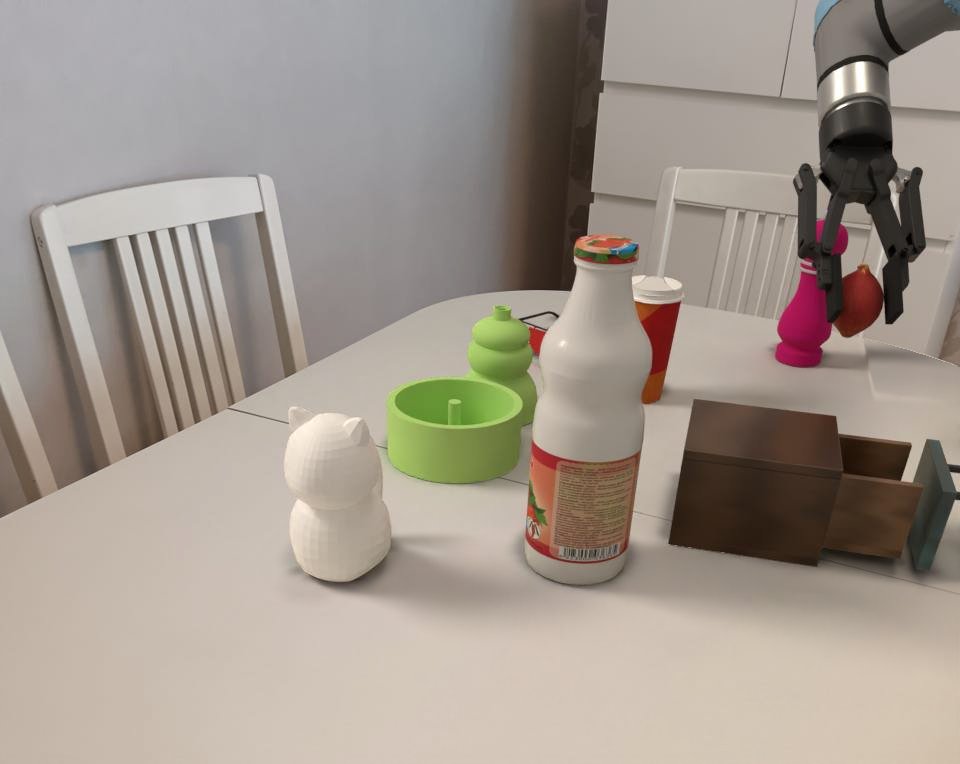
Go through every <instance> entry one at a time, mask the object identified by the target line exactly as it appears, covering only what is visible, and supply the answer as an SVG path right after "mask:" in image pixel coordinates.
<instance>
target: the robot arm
mask: <svg viewBox="0 0 960 764" xmlns="http://www.w3.org/2000/svg"><path fill="white" fill-rule="evenodd" d="M813 25H814V31H813V36H812V47H813V51H814V56H815V57H814V60H815V73H816V75H815V76H816V103H817V105H816V106H817V126H818V149H819V151H818V152H819V160H820V161H819V164H817V165H813V166H812V165H810V163H808V162H804V163H802V164H801V165H800V166H799V168H798V170H797V172H796V174H795V176H794V178H793V179H792V184H793V187H794V190H795V193H796V195H797V257H798V258H799V260H800V259H806V258H808V259H811V260H813V262H812V267H813V268H815V269H816V274H817V287H818V289H819V290H825V293H826V315H827V323H834V322H835V321H836V320H837V318H838V317H839V316H840V314H841V313H842V312H843V311H844V306H843V286H842V278H843V267H842V266H843V265H842V255H841V253H834V254H833V255H832V251H833V249H834V246H835V242H836V238H837V235H838V231H839V227H840V224H842V220H843V216H844V212H845V209H846V205H848V204H854V203H856V204H860V205H863V206H864V208H865V211H866V213H867V215H870V216H871V219H872V222H873V225H874V228H875V230H876V233H877V235H878V239H879V241H880V244H881V246H882V249H883V252H884V254H885V257H886V259H887V262H886V263H885V265H883V267H882V268H881V272H882V273H881V274H882V290H883V294H884V302H883V309H884V325H891V326H892V325H894V323H895V322H896V321H897V320H898V319H899V318H900V317H901V316H902V315H903V314H904V312H905V311H904V310H905V309H904V296H903V294H904V293H903V292H904V291H905V290H906V289H907V288H908V286H909V284H910V267H909V263H914V262H915V261H916V260H917V259H918V258H919V256H920V255H921V254H923V252H924V251H925V249H926V248H927V241H926V233H925V224H924V216H923V215H924V214H923V208H922V207H923V206H922V199H921V190H920V185H921V183H922V179H923V176H924V170H923V169H922V167H919V166H915V167H913V168H912V169H911V170H908V169H904V168H901V167H899V165H898V162H897V160H896V159H895V157H894V155H893V150H894V149H893V147H894V137H893V135H894V134H893V121H892V119H893V118H892V113H891V111H892V103H891V101H892V100H891V89H890V71H889V69H890V66H889V65H890V62H892V61H894V60H895V59H897V58H900V57H901V56H904V55H905V54H908V53H909V52H911V50H913V49H916V48H917V47H919V46H921V45H923V44H925V43H926V42H927V43H928V42H929V41H930V40H932V39H934V38H936V37H938V36H939V35H941V34H943V33H945V32H957V31H960V0H819V1H818V2H817V5H816V8H815V12H814V24H813ZM891 181H892V182H894V184H895V193H896V194H898V211H899V212H898V213H899V217H898V214H897V212H896V209H895V206H894V204H893V201H892V198H891V197H892V191H891V187H890V185H889V183H890V182H891ZM819 182H821V183H822V185H823V186H824V187H825V188H826V189H827V191H828V192H829V193H830V197H829V200H828V204H827V207H826V209H827V210H828V211H827V215H826V218H825V222H824V225H823V229H822V233H821V236H820V240H819V242H817V221H818V183H819Z"/></svg>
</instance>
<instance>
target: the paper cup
mask: <svg viewBox="0 0 960 764" xmlns="http://www.w3.org/2000/svg"><path fill="white" fill-rule="evenodd" d="M632 288H633V295H634V301H635V307H636V311H637V315H638V318H639V320H640V323H641V325H642V326H643V328H644V330H645V332H646V334H647V336H648V338H649V340H650V343H651V347H652V367H651V371H650V374H649V377H648V379H647V382H646V384H645V386H644V389H643V391H642V396H641V398H642V403H643V405H648V404H654V403H657V402H659V401H660V400H661V397H662V393H663V389H664V385H665V380H666V376H667V375H666V374H667V371H668V366H669V361H670V356H671V352H672V347H673V342H674V337H675V334H676V333H675V332H676V327H677V324H678V318H679V314H680V308H681V303H682V301H684V300H685V293H684V292H683V291H684V289H683V284H682V282H681V281H679V280H677V279H674V278H671V277H666V276H664V277H660V276H658V275H650V276H647V275H645V274H644V275H643V274H642V275H634V276H633V275H632Z"/></svg>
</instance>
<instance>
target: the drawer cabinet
mask: <svg viewBox="0 0 960 764" xmlns="http://www.w3.org/2000/svg"><path fill="white" fill-rule="evenodd" d="M689 416H690V417H689V422H688V427H687V432H686V437H685V442H684V447H683V453H682V459H681V465H680V470H679V471H680V472H679V477H678V482H677V489H676V495H675V501H674V507H673V512H672V519H671V524H670V530H669V537H668V542H667V545H668V544H670V545H669V546H674V545H677V546H676V547H681V546H684V547H683V548H688V547H691V548H690V549H695V548H696V549H695V550H701V549H703V551H708V550H709V552H715V551H716V553H721V552H724V553H723V554H728V553H729V555H734V556H735V555H736V556H741V555H743V557H749V558H755V557H756V559H760V560H761V559H762V560H768V561H769V560H770V561H775V562H782V563H789V564H796V565H803V566H808V567H818V565H819V563H820V558H821V555H822V550H823V548H822V547H823V544H824V540H825V536H826V533H827V529H828V526H829V522H830V518H831V515H832V511H833V507H834V504H835V500H836V496H837V493H838V489H839V485H840V482H841V478H842V474H843V464H842V457H841V449H840V441H839V434H840V433H839V426H838V418H837V415H833V414H832V415H831V414H824V413H814V412H807V411H799V410H790V409H782V408H775V407H773V408H772V407H767V406H766V407H765V406H759V405H758V406H757V405H749V404H741V403H734V402H726V401H716V400H709V399H701V398H700V399H699V398H693V401H692V405H691V411H690V415H689Z"/></svg>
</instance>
